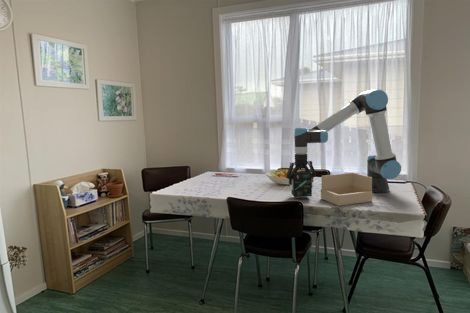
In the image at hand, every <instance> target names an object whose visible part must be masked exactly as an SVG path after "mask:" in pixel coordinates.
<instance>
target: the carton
mask: <svg viewBox="0 0 470 313" xmlns="http://www.w3.org/2000/svg"><path fill="white" fill-rule="evenodd" d="M320 199H321V200H323V201H326V202H328V203H330V204H333V205H335V206H338V207H342V206H348V205H354V204H355V205H356V204H363V203H370V202H373V192H372V177H368V176H367V175H364V174H360V173H355V172H347V173H338V174H337V173H336V174H328V175H327V174H326V175H321V188H320Z"/></svg>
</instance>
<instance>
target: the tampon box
mask: <svg viewBox="0 0 470 313" xmlns="http://www.w3.org/2000/svg"><path fill="white" fill-rule="evenodd" d="M310 171H311V170H310ZM310 171H306V170H305V169H300V170H297V172H296V173H293V178H292V179H293V190H291V189H290V190H291V195H292V196H293V198H304V197H306V198H307V197H312V196H313V195H312V194H313V182H312V172H310ZM291 173H292V172H291Z"/></svg>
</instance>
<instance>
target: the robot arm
mask: <svg viewBox="0 0 470 313" xmlns="http://www.w3.org/2000/svg"><path fill="white" fill-rule="evenodd" d="M388 103H389V97H388V94H387V93H386V92H385V90H382V89H379V88H375V89H374V88H373V89H370V90H365V91H362V92H361V93H359V94H357V95H356V96H355V97H353V98H352V99H351V100H349V102H348V103H347V105H345V106H343V107H342V108H340V109H339V110H337V111H335V113H333V114H331V115H330V116H328V117H327V118H325V119H324V120H322V121H321V122H320V123H319V122H318V124H317V125H314V126H313V127H312V128H309V129H308V128H307V127H296V128H294V135H293V136H294V138H293V139H294V153H295V154H294V162H292V161H291V162H289V168H288V170H287V172H286V175H285V178H286V179H288V185H290V186H289V190H293V179H292V178H293V173H296V172H297V171H300V170H306V171H310V172H311V173H312V183H314V178H315V177H317V173H316V170H315V168H314V165H313V160H308V144H325V143H327V142H328V140H329V132H330V131H332V130H333V129H334V128H336V127H337V126H340V125H341V124H342V123H344V122H346V121H347V120H348V119H350V118H351V117H353V116H354V115H355V114H356V115H359V114H360V113H362V112H365V115H366V116H367V117H368V118H369V123H370V127H371V132H372V133H371V134H372V138H373V143H374V148H375V152H376V154H375V155H373V154H372V155H368V156H367V159H366V160H367V161H366V164H367V165H366V166H367V169H366V171H367V174H366V176H368V177H372V193H388V192H390V185H389V183H388V180H394V179H396V178H398V177H399V175H401V172H402V165H401V163H400V162H399V161H397V156H396V154H395V153H394V152H393V151H392V150H393V149H392V145H391V140H390V134H389V129H388V124H387V120H386V115H385V114H386V112H387V111H388V109H387V105H388ZM308 166H309V167H308ZM291 172H292V173H291Z"/></svg>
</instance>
